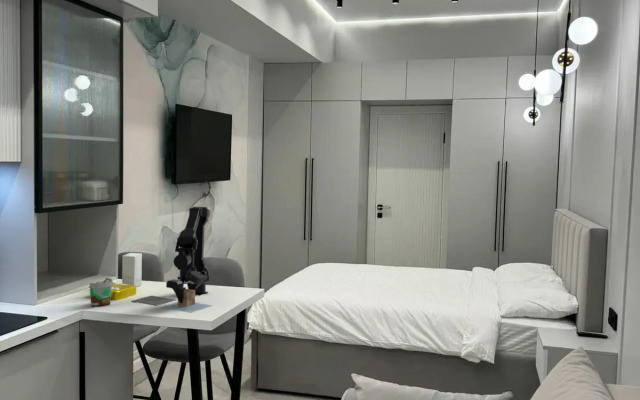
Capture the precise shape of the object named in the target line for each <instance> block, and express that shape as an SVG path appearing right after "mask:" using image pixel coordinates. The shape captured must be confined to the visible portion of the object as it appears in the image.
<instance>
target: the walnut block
mask: <svg viewBox="0 0 640 400" xmlns="http://www.w3.org/2000/svg"><path fill="white" fill-rule="evenodd" d="M177 302H178V305H180V306H186V307H188V306H191V305H194V304H195V303H196V295H195V290H190V289H188V288H186V289H185V290H184V292H183V303H180V302H179V300H178V299H177Z"/></svg>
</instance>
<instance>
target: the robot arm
mask: <svg viewBox="0 0 640 400" xmlns="http://www.w3.org/2000/svg"><path fill="white" fill-rule="evenodd" d="M188 210H189V211H188V218H187V221H186V225H185V228H184V229H183V230H182V231H181V232H180V233H179V236H178V237H177V240H176V244H175V249H174V252H175V253H178V254H177V255H176V256H175V257H174V259H173V265H174V267H175V268H177V270H179V276H177V277H176V278H177V279H176V278H173V279H168V280H166V282H165V287H166V288H167V289H172V290H173V293H174V294H175V296H176V298H177V301H178V300H179V302H180V303H183V292H184V290H185V289H190V290H195V296H202V295H205V294H208V293H209V292H208V291H206V287H207V286H206V284H207V281H208V282H209V281H210V271H209V269H208V267H207V266H208V265H207V263H206V261H205V258H204V251H205V250H204V248H205V247H204V246H205V226H206V225H207V224H208V223H209V218H210V216H211V210H210V208H208V206H192V207H190V208H189V209H188ZM186 284H187V287H185V285H186Z"/></svg>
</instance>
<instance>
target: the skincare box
mask: <svg viewBox="0 0 640 400" xmlns="http://www.w3.org/2000/svg"><path fill="white" fill-rule="evenodd" d="M142 258H143V254H142V252H141V253H140V252H139V253H138V252H129V253H126V254H123V255H122V261H121V263H122V270H121V272H122V274H121V275H122V277H121V284H129V285H136V288H138V287H140V286H142V274H143V273H142V272H143V271H142V269H143V268H142V266H143V264H142V263H143V262H142V261H143V260H142Z"/></svg>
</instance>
